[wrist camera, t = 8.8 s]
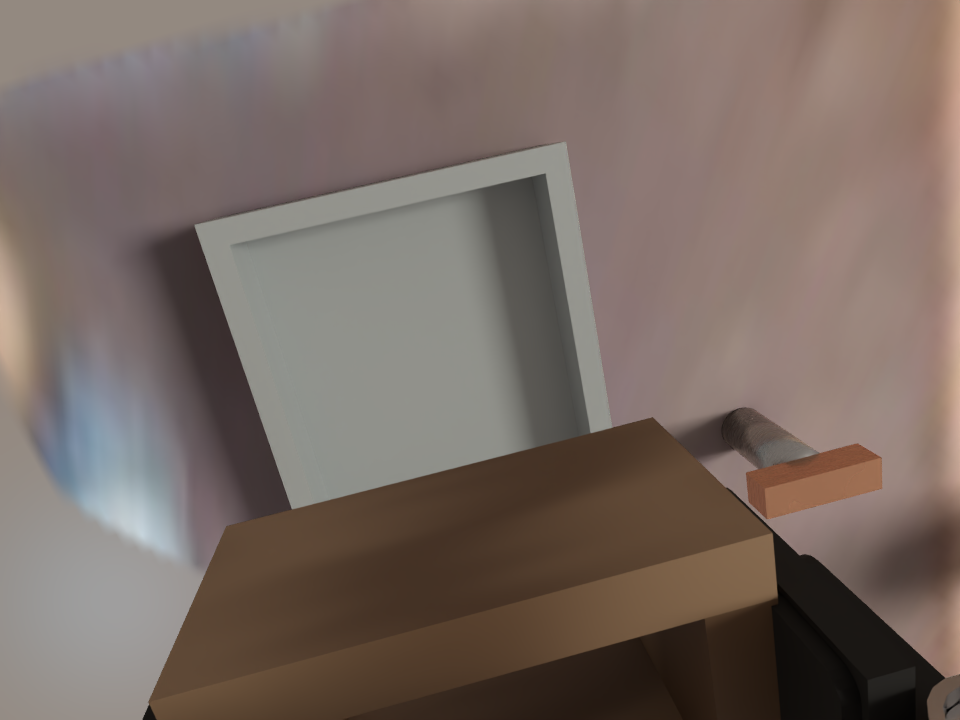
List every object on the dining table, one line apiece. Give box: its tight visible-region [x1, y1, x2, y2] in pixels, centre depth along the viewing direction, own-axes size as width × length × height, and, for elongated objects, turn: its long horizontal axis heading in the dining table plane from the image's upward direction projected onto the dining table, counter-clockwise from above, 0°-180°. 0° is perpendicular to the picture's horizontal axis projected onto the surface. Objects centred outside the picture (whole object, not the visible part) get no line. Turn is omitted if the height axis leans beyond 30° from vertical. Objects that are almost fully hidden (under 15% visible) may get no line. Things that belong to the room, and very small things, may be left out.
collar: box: [149, 417, 781, 720], centre depth 9 cm, size 7×5×4 cm
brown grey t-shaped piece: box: [722, 408, 882, 519], centre depth 25 cm, size 2×4×5 cm, turn 102°
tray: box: [194, 142, 612, 509], centre depth 23 cm, size 14×12×3 cm
